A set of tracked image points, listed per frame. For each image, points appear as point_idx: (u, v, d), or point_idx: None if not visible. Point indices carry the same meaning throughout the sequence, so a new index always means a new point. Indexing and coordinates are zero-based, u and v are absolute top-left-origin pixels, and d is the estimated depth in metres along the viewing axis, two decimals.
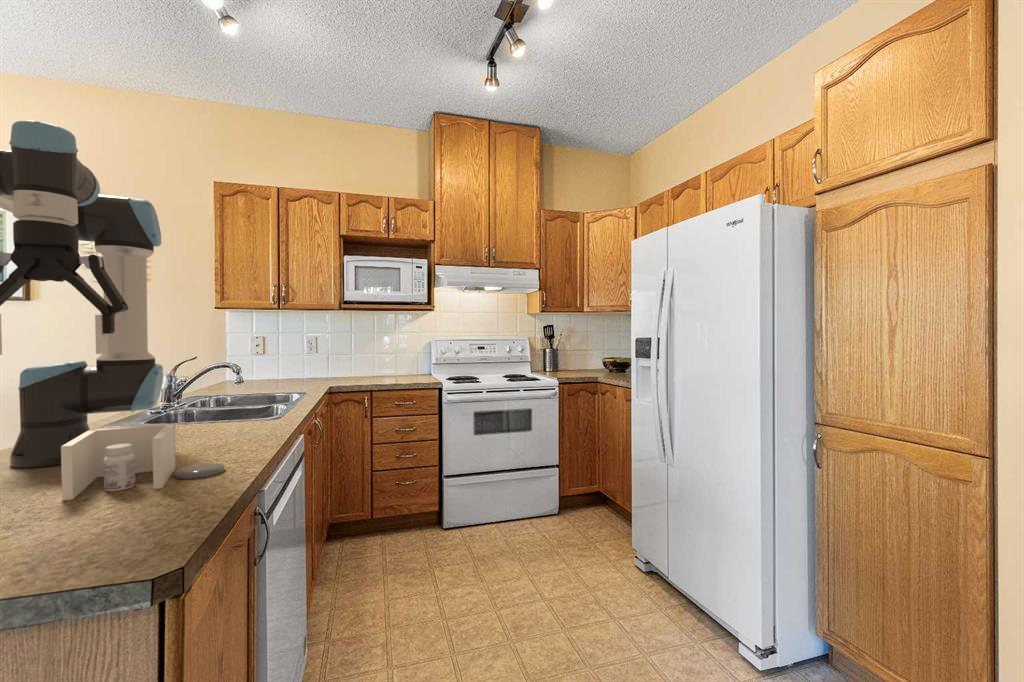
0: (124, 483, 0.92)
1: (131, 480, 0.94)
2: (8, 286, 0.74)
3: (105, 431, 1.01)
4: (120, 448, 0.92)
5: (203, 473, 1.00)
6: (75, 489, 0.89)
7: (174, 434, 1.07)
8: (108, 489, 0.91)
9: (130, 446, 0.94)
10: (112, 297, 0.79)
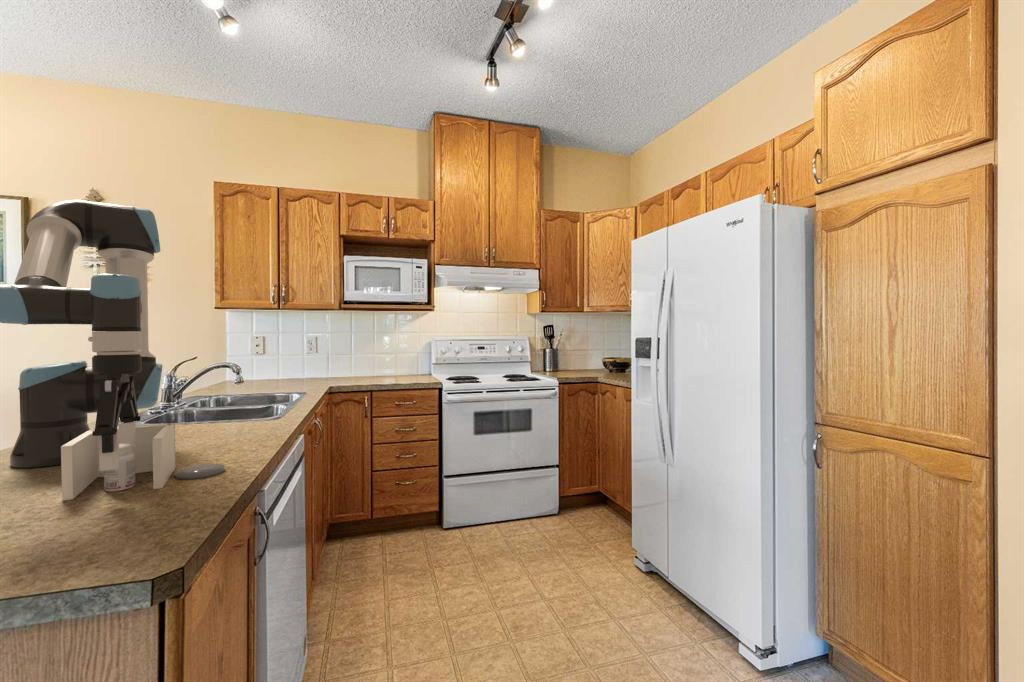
0: (124, 483, 0.92)
1: (131, 480, 0.94)
2: None
3: None
4: (120, 448, 0.92)
5: (203, 473, 1.00)
6: (75, 489, 0.89)
7: (174, 434, 1.07)
8: (108, 489, 0.91)
9: (130, 446, 0.94)
10: None
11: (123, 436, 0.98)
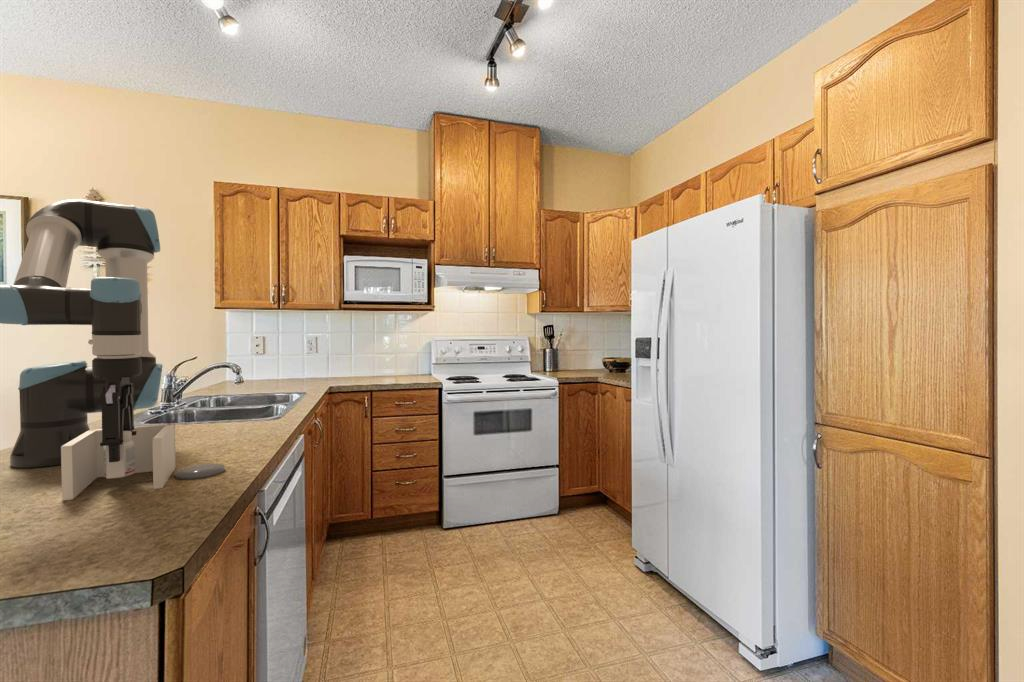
0: None
1: (131, 467, 0.94)
2: None
3: None
4: None
5: (203, 473, 1.00)
6: (75, 489, 0.89)
7: (174, 434, 1.07)
8: None
9: (130, 433, 0.94)
10: None
11: None
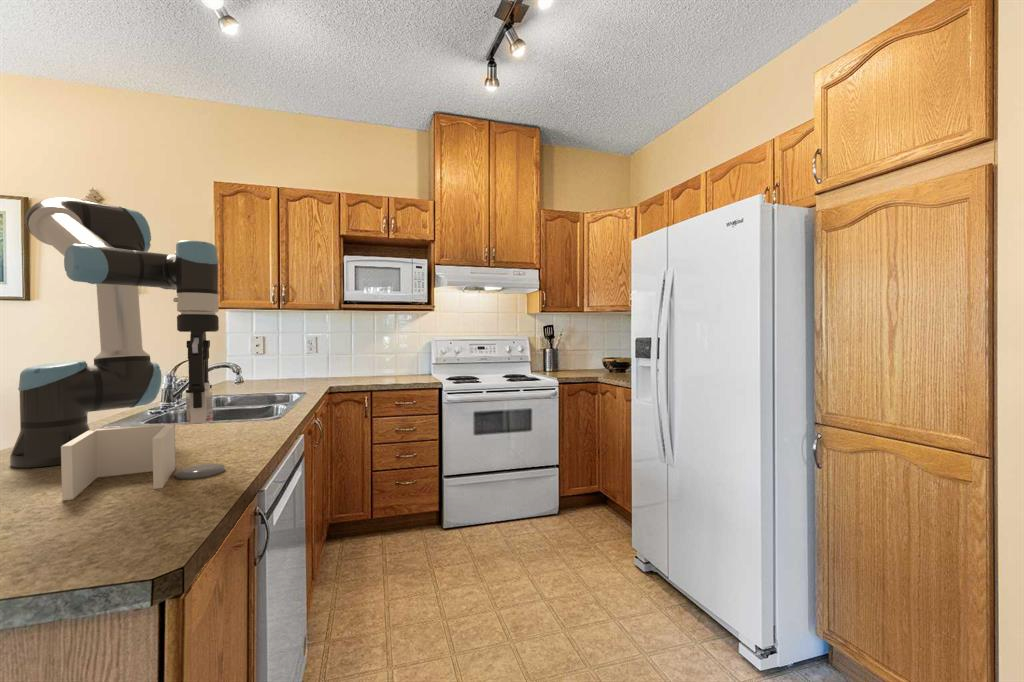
0: None
1: (210, 414, 1.03)
2: None
3: (105, 431, 1.01)
4: None
5: (203, 473, 1.00)
6: (75, 489, 0.89)
7: (174, 434, 1.07)
8: None
9: (209, 384, 1.03)
10: (189, 379, 0.97)
11: None
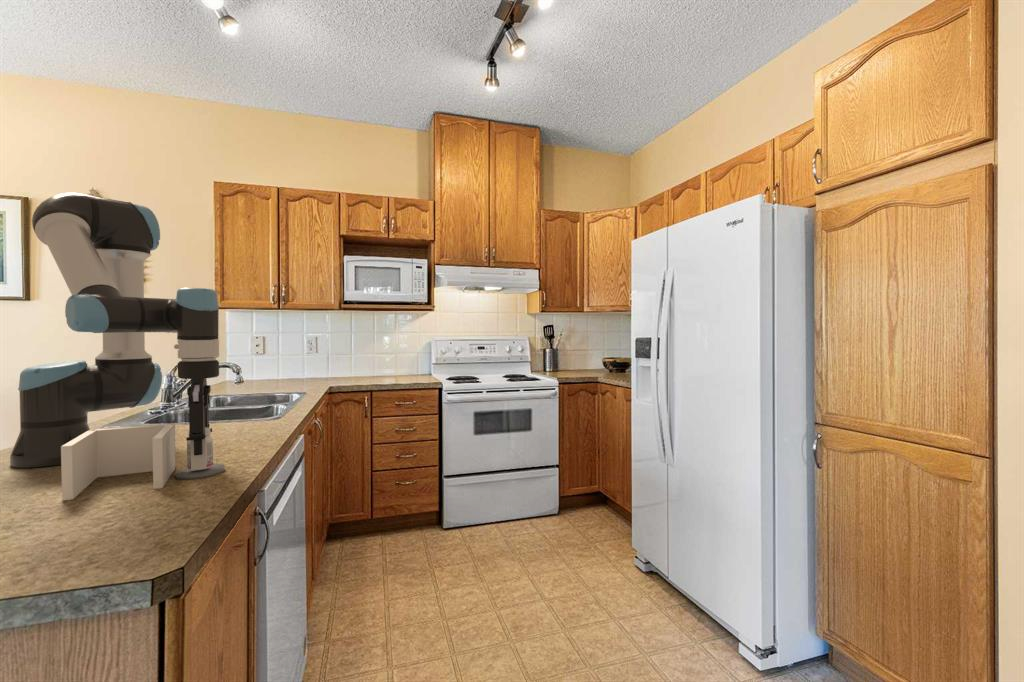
0: None
1: (211, 460, 1.03)
2: None
3: (105, 431, 1.01)
4: None
5: (203, 473, 1.00)
6: (75, 489, 0.89)
7: (174, 434, 1.07)
8: None
9: (209, 429, 1.04)
10: None
11: None
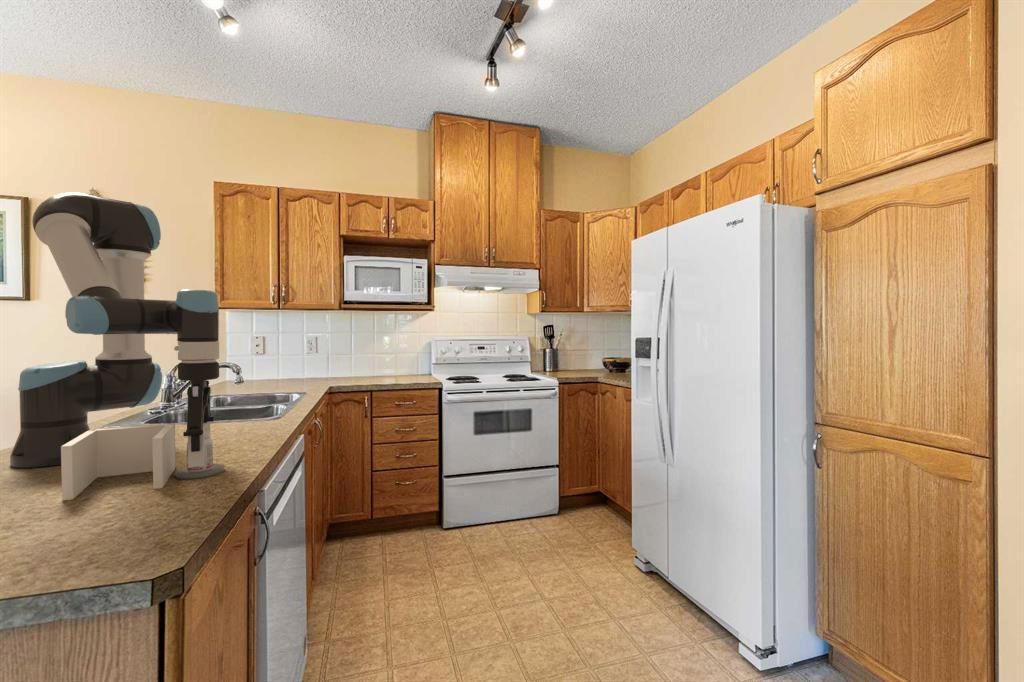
0: (205, 465, 1.02)
1: (210, 462, 1.03)
2: None
3: (105, 431, 1.01)
4: None
5: (203, 473, 1.00)
6: (75, 489, 0.89)
7: (174, 434, 1.07)
8: (191, 470, 1.01)
9: (209, 431, 1.04)
10: None
11: None
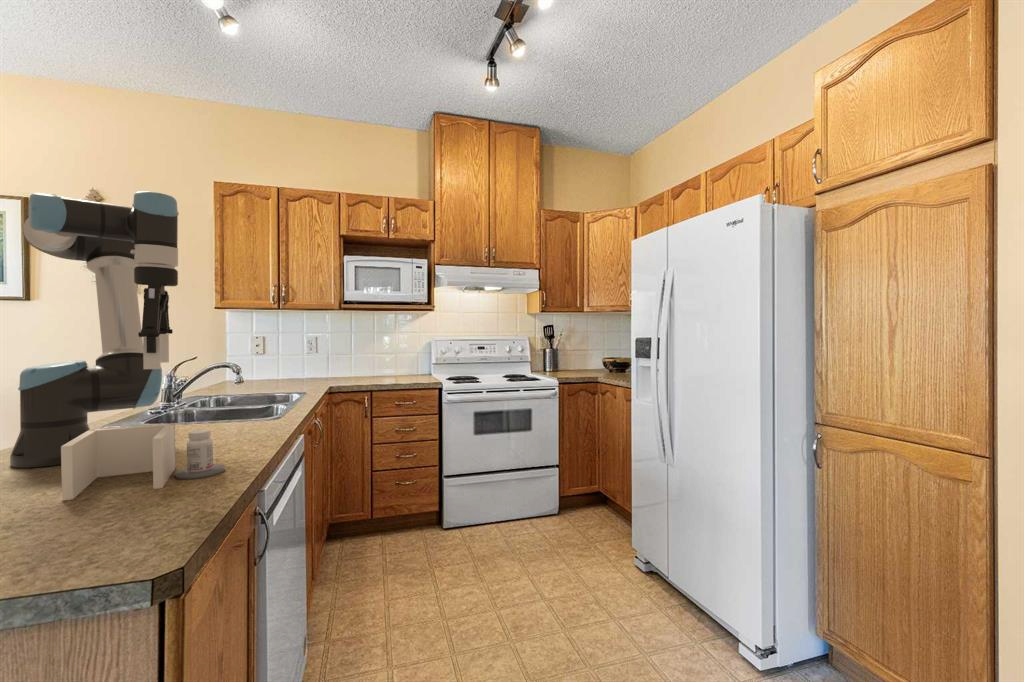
0: (205, 465, 1.02)
1: (210, 462, 1.03)
2: None
3: (105, 431, 1.01)
4: (202, 433, 1.02)
5: (203, 473, 1.00)
6: (75, 489, 0.89)
7: (174, 434, 1.07)
8: (191, 470, 1.01)
9: (209, 431, 1.04)
10: None
11: None
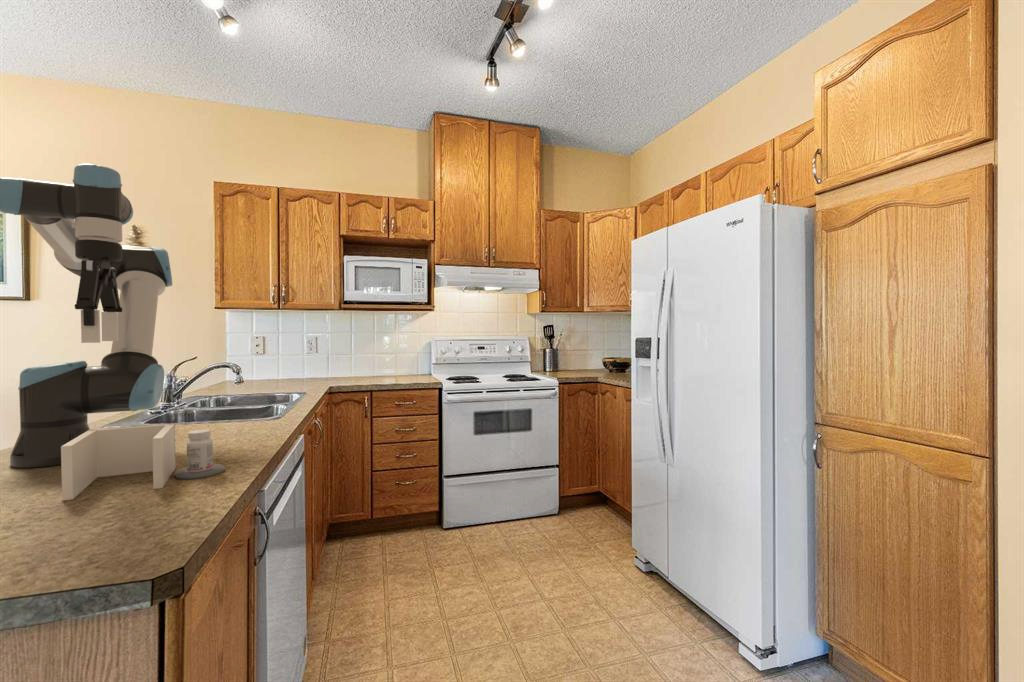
0: (205, 465, 1.02)
1: (210, 462, 1.03)
2: None
3: (105, 431, 1.01)
4: (201, 433, 1.02)
5: (203, 473, 1.00)
6: (75, 489, 0.89)
7: (174, 434, 1.07)
8: (191, 470, 1.01)
9: (209, 431, 1.04)
10: None
11: (105, 324, 1.06)
